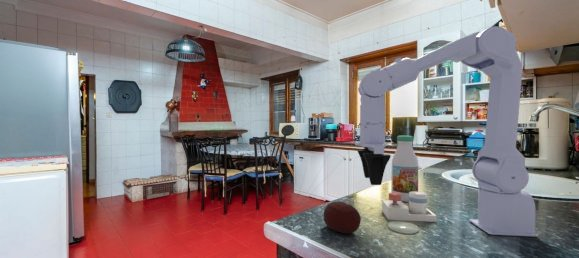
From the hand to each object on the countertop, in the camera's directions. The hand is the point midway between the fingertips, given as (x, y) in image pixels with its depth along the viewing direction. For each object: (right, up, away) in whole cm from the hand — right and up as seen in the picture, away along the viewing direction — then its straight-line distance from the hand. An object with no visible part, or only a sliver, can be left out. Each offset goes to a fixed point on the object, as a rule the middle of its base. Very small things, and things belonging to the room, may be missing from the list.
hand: (372, 181), depth 62 cm
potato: (-8, -10, -4) cm, 14 cm away
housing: (+11, -10, +4) cm, 15 cm away
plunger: (+7, -8, +5) cm, 12 cm away
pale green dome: (+6, -10, -3) cm, 12 cm away
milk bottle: (+16, -10, +20) cm, 27 cm away
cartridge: (+13, -10, +4) cm, 17 cm away
